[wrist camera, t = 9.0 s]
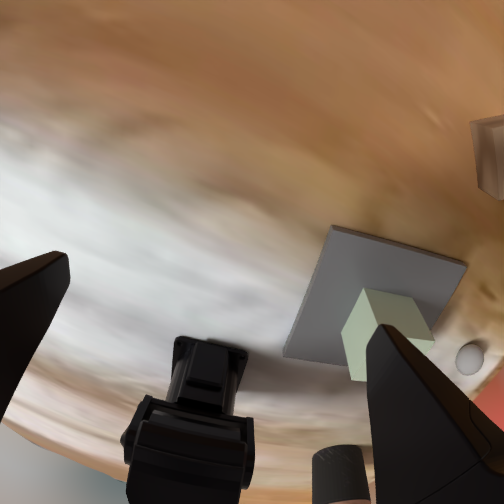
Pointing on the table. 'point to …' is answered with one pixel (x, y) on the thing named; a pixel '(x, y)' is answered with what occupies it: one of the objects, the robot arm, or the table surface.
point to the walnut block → (489, 154)
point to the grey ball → (469, 359)
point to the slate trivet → (365, 276)
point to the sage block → (373, 314)
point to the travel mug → (339, 476)
